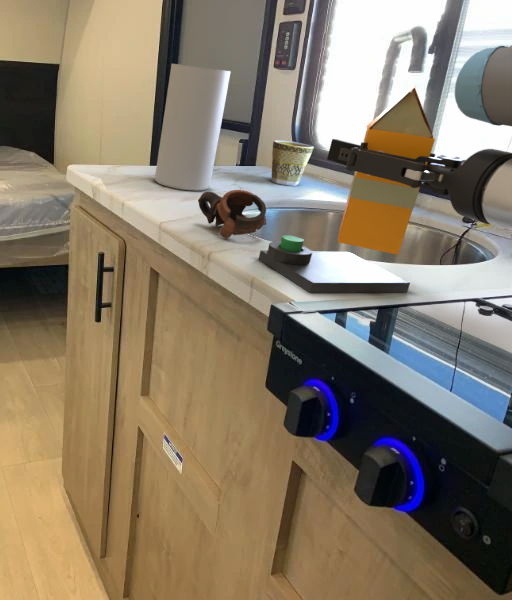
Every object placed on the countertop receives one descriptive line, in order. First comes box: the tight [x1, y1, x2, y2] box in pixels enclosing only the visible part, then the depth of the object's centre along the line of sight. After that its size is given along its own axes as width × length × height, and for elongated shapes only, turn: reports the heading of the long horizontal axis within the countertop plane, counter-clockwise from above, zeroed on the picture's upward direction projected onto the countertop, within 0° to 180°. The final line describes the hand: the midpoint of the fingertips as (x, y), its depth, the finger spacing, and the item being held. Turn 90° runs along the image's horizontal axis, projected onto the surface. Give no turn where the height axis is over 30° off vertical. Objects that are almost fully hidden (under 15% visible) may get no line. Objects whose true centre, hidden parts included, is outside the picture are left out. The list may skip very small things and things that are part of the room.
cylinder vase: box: [154, 63, 232, 192], centre depth 131 cm, size 12×12×25 cm
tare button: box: [280, 235, 305, 252], centre depth 85 cm, size 3×3×2 cm
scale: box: [258, 240, 411, 294], centre depth 85 cm, size 16×13×3 cm
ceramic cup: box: [270, 139, 315, 187], centre depth 155 cm, size 13×10×10 cm
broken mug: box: [197, 189, 267, 240], centre depth 100 cm, size 12×10×8 cm
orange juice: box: [337, 85, 436, 256], centre depth 77 cm, size 8×9×20 cm
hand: (363, 152), depth 82 cm, fingers closed on orange juice, 10 cm apart
